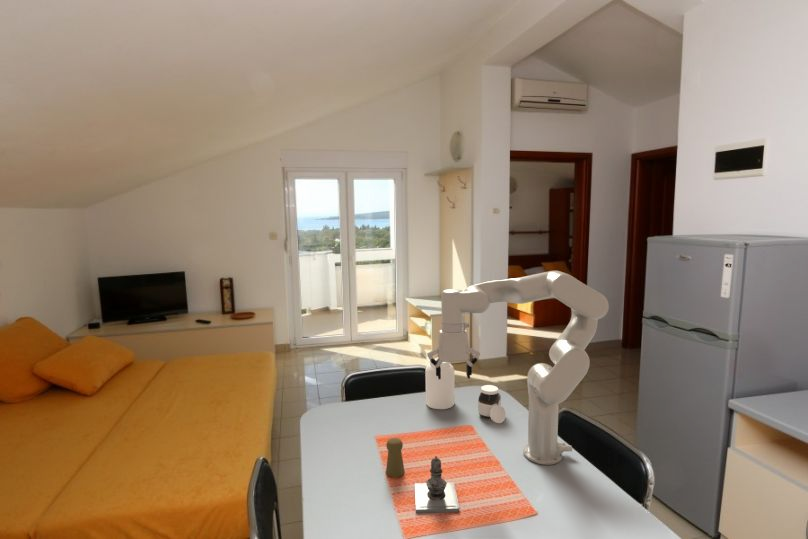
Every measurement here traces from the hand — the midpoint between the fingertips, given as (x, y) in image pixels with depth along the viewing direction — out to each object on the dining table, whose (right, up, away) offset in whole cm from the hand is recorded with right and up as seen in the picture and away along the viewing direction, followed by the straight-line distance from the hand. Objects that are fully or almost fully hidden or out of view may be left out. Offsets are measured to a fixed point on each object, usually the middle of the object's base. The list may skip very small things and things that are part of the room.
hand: (453, 377), depth 148 cm
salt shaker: (-7, -30, -18) cm, 36 cm away
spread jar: (+19, -24, +33) cm, 45 cm away
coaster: (-7, -31, -18) cm, 37 cm away
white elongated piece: (-1, -23, +46) cm, 52 cm away
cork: (-19, -30, -4) cm, 36 cm away
